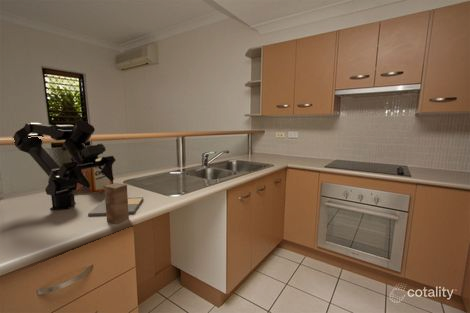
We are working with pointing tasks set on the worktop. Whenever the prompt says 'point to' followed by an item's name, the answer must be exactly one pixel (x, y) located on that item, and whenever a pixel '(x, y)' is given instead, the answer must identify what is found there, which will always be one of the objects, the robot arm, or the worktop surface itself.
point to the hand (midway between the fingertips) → (101, 183)
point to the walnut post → (116, 203)
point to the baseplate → (101, 208)
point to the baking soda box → (97, 179)
